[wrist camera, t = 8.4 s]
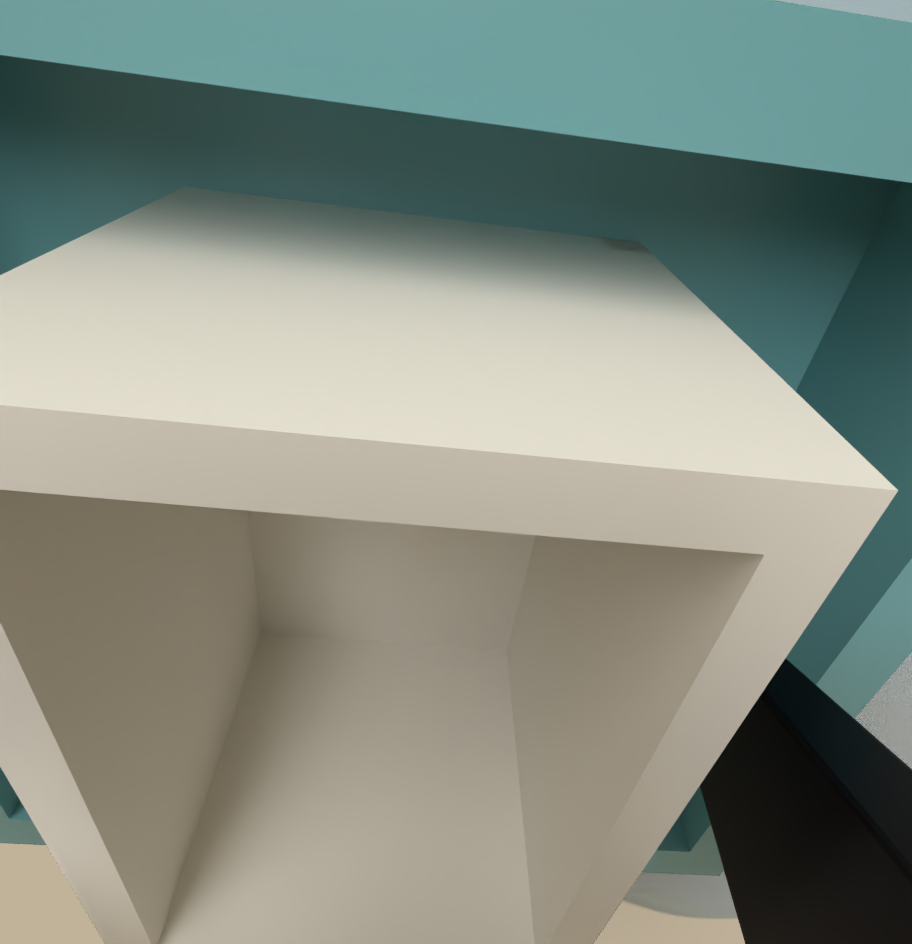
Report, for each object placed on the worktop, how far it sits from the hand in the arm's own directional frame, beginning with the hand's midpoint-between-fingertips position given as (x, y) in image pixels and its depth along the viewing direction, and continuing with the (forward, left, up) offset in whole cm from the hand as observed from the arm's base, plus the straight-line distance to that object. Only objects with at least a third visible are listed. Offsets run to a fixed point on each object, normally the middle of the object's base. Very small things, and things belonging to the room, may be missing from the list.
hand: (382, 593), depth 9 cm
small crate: (0, 0, -3) cm, 3 cm away
